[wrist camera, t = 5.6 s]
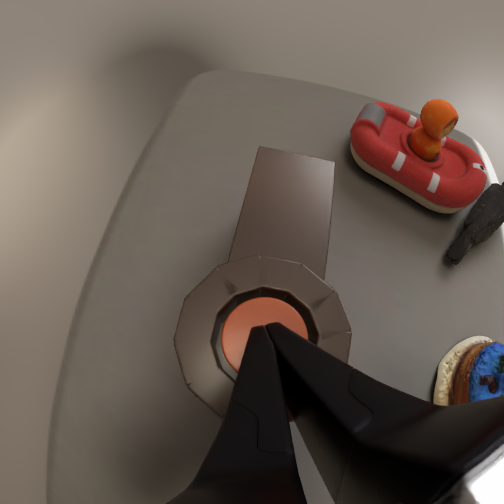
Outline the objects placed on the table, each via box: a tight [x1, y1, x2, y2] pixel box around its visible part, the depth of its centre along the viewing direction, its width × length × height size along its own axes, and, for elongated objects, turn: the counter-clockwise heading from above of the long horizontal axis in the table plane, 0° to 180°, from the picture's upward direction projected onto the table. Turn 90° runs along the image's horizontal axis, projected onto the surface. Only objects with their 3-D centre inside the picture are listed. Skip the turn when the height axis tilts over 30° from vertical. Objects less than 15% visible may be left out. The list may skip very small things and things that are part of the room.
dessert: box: [433, 336, 504, 406], centre depth 14 cm, size 8×7×6 cm
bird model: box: [446, 182, 504, 265], centre depth 20 cm, size 3×14×3 cm, turn 128°
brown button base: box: [173, 146, 352, 422], centre depth 14 cm, size 12×6×8 cm, turn 168°
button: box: [221, 297, 308, 373], centre depth 10 cm, size 3×3×2 cm
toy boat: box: [350, 99, 487, 214], centre depth 19 cm, size 8×12×8 cm, turn 61°
